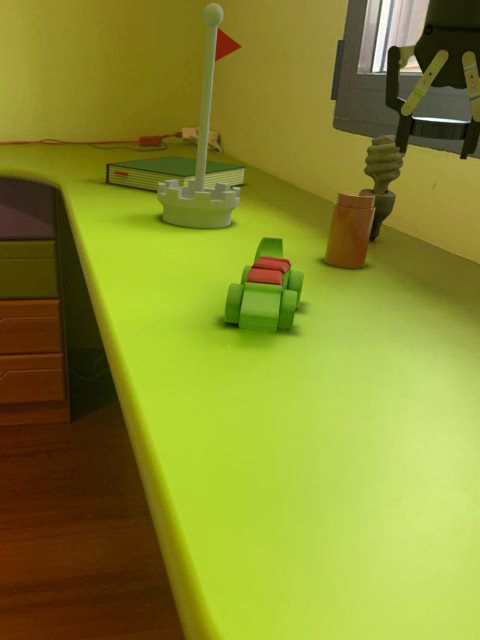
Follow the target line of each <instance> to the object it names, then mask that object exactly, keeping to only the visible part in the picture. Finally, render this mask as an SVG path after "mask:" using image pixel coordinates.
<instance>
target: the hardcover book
mask: <svg viewBox="0 0 480 640" xmlns="http://www.w3.org/2000/svg"><path fill="white" fill-rule="evenodd" d="M196 161H197V158H191V157H185V156H178V155H168V156H159V157H152V158H141V159H134V160H124V161H116V162H108V163H107V162H106V163H105V165H106V166H105V184H110V185H115V186H120V187H126V188H131V189H138V190H144V191H149V192H155V193H158V183H164V181H165V180H178V181H179V183H178V187H188V181H189V180H195V174H196ZM245 168H247V165H242V164H236V163H228V162H220V161H213V160H208V159H206V169H205V181H204V188H212V189H215V183H216V182H221V183H227V184H231V186H230V188H232V187H240V186H244V185H245V182H244V179H245V176H244V175H245Z"/></svg>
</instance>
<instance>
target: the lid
mask: <svg viewBox="0 0 480 640" xmlns="http://www.w3.org/2000/svg"><path fill="white" fill-rule="evenodd" d="M468 123H469V122H468V121H465V120H458V119H447V118H436V117H414V118H413V120H412V125H411V130H410V136H413V137H417V138H425V139H433V140H443V141H444V140H445V141H446V140H447V141H464V139H465V135H466V131H467V127H468Z"/></svg>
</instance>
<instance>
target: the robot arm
mask: <svg viewBox="0 0 480 640" xmlns="http://www.w3.org/2000/svg"><path fill="white" fill-rule="evenodd" d="M386 55H387V57H386V78H385V79H386V80H385V82H386V83H385V100H384V101H385V102H384V103H385V107H387V108H388V109H391V110H393V111H395V112H396V113H398V115H399V116H398V117H399V118H398V125H397V129H396V134H395V136H396V138H395V146H396V147H400V150H399V153H406V154H407V151H408V147H409V143H410V138H411V137H410V136H411V135H410V130H411V125H412V120H413V118H415V116H413V114H414V111H415V109H416V108H417V107H418V105H419V103H420V102H421V100H422V99H423V97H425V95H426V93H427V92H428V90H429V89H430V87H432V88H439V89H441V88H445V87H450V88H453V89H455V90H465V89H466V91H467V96H468V100H469V106H470V111H471V117H470V120H468V121H467V122H469V123H468V127H467V131H466V135H465V139H464V140H463V142H462V146H461V151H460V154H459V160H464V161H465V160H466V161H467V159H468V156H469V155H474V153H475V152H476V150H477V148H478V143H479V139H480V0H428V4H427V9H426V14H425V19H424V23H423V29H422V33H421V35H420V37H419V39H418V40H417V41H416V43H415V44H413V45H404V46H398V45H392V46H390V47H389V48H388V49H387V54H386ZM411 57H415V60H416V62H417V65H418V66H419V69H420V71H421V73H422V76H421V77H420V79H419V80H418V82H417V83H416V84H415V86H414V88H413V89H412V91H411V92H410V94H409V95H408V97H407V98H406V100H405V99H403V98H401V97H399V96H400V81H401V80H400V79H401V69H402V70H403V69H404V68H406V67H407V65H408V64H409V60H410V58H411Z"/></svg>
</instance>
